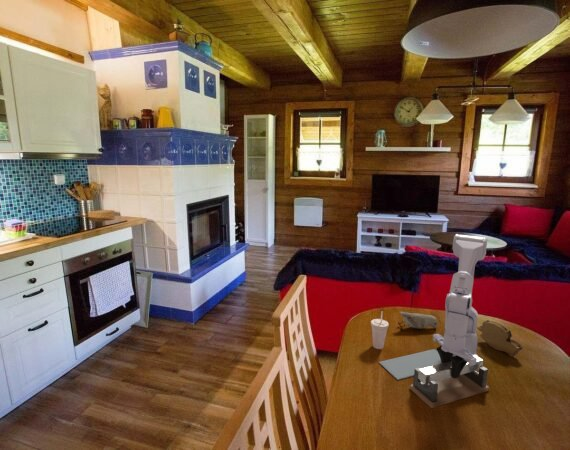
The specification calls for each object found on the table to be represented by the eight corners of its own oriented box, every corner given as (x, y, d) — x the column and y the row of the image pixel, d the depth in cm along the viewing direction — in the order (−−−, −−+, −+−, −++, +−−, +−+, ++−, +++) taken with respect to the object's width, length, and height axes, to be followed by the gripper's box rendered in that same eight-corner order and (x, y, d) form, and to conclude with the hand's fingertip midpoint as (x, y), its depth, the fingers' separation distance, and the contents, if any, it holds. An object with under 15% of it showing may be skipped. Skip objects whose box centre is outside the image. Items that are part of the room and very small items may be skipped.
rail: (473, 363, 110) (475, 354, 109) (482, 368, 107) (483, 360, 106) (417, 378, 102) (418, 369, 102) (425, 384, 100) (426, 375, 99)
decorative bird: (439, 332, 141) (441, 314, 139) (400, 331, 141) (401, 314, 139) (433, 325, 146) (435, 309, 144) (395, 325, 146) (397, 309, 144)
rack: (464, 373, 114) (466, 354, 112) (488, 390, 105) (491, 370, 104) (409, 388, 106) (411, 367, 105) (431, 408, 98) (433, 386, 97)
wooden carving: (523, 358, 122) (527, 332, 120) (515, 361, 120) (519, 335, 118) (480, 336, 137) (483, 313, 135) (472, 339, 135) (475, 315, 133)
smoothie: (387, 352, 126) (390, 316, 123) (369, 350, 127) (371, 314, 124) (386, 342, 132) (388, 308, 129) (369, 341, 133) (371, 307, 130)
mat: (434, 350, 127) (434, 349, 127) (455, 365, 118) (455, 364, 118) (378, 362, 119) (378, 361, 119) (397, 380, 110) (397, 379, 110)
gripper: (426, 323, 107) (423, 362, 110) (465, 347, 94) (460, 391, 97) (444, 319, 110) (440, 358, 112) (484, 342, 96) (478, 386, 99)
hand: (450, 373), depth 105 cm, fingers closed on rail, 3 cm apart
